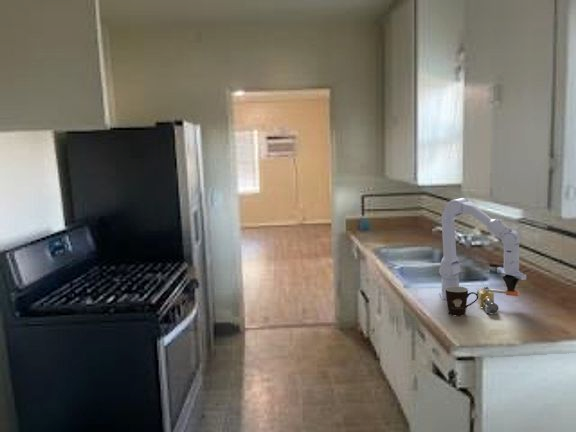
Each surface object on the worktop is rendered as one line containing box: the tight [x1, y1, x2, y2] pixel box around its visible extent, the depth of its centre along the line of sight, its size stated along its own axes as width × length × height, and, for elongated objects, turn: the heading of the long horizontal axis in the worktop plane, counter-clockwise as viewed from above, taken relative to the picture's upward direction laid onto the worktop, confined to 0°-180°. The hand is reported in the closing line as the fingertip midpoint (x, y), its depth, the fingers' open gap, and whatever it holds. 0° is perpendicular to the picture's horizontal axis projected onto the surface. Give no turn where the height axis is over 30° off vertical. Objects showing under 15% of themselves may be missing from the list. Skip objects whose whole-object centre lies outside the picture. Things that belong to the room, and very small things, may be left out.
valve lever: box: [482, 286, 520, 297], centre depth 209 cm, size 14×3×2 cm, turn 56°
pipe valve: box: [476, 288, 499, 315], centre depth 210 cm, size 20×5×6 cm, turn 172°
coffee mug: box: [445, 285, 478, 317], centre depth 204 cm, size 12×9×10 cm
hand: (511, 293), depth 209 cm, fingers closed
